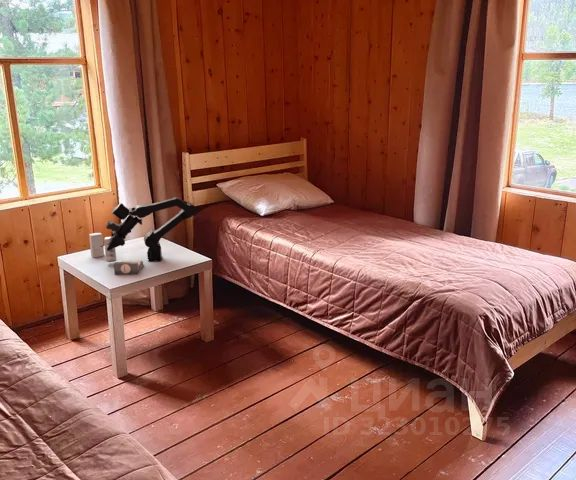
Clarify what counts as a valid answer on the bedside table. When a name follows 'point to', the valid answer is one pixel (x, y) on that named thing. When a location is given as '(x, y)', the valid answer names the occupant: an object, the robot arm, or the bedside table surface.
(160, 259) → the robot arm
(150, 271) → the bedside table surface
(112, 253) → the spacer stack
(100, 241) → the skincare box
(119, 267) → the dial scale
